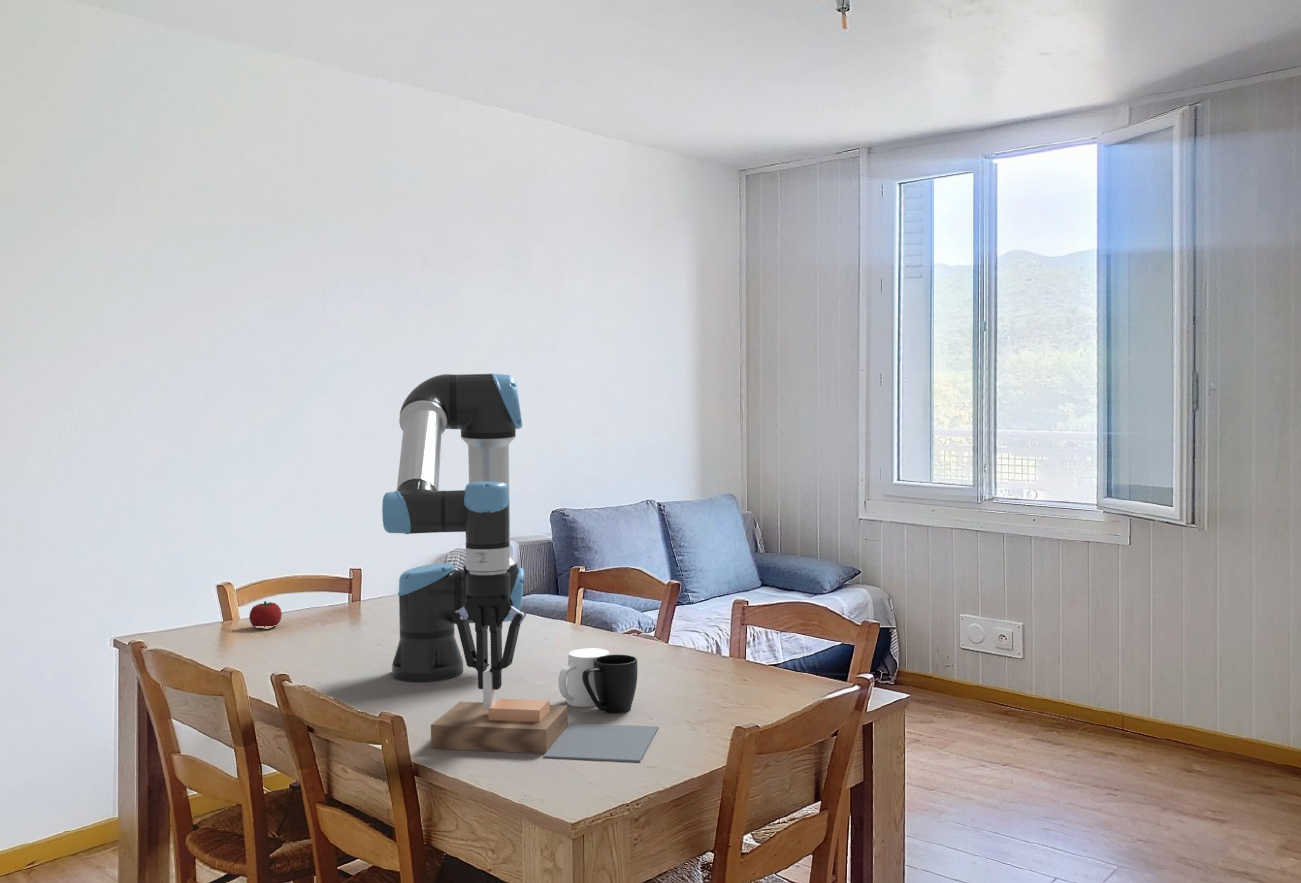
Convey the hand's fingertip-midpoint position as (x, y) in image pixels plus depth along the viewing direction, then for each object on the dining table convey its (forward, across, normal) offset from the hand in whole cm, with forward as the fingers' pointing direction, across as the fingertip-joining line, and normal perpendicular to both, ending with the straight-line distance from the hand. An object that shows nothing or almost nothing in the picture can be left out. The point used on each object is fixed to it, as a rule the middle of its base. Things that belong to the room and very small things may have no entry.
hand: (490, 707), depth 179 cm
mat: (+5, +20, 0) cm, 21 cm away
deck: (+5, +2, 0) cm, 6 cm away
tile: (+1, +5, 0) cm, 5 cm away
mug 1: (+5, +11, +24) cm, 27 cm away
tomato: (+5, -91, +82) cm, 122 cm away
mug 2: (+5, +17, +18) cm, 25 cm away
